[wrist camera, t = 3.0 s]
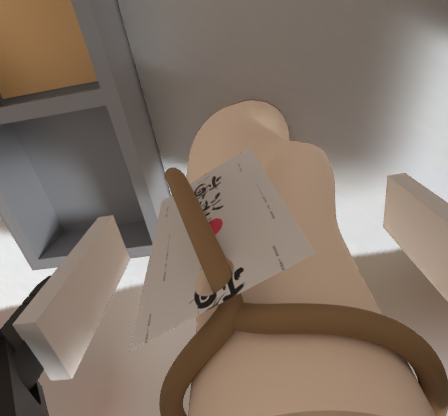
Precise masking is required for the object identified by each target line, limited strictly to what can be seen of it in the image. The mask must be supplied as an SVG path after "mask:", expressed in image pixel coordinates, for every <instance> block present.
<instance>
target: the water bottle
mask: <svg viewBox="0 0 448 416" xmlns="http://www.w3.org/2000/svg"><path fill="white" fill-rule="evenodd" d="M289 140H290V134H289V129H288V125H287V123H286V120H285V118H284V117H283V115H282V114H281V112H280V111H279V110H278V109H276V108H275V107H274V106H272V105H270V104H268V103H265V102H262V101H255V100H249V101H243V102H239V103H237V104H234V105H231V106H227V107H225V108H223V109H221V110H219V111H217V112H216V113H214V114H213V115H212V116H211V117H210V118H208V119H207V121H206V122H205V123H204V124H203V125H202V127H201V128H200V129H199V131H198V132H197V134H196V136H195V138H194V141H193V143H192V146H191V149H190V154H189V159H188V168H187V178H186V177H185V175H184V174H183V173H182V172H181V171H180V170H178V169H176V168H169V169H168V170H167V171H166V172H165V179H166V181H167V182H168V184H169V187H170V190H171V193H172V195H171V196H169V197H167V198H166V199H164V200H163V201H162V203H161V207H160V212H159V216H158V221H157V226H156V230H155V235H154V240H153V244H152V249H151V254H150V258H149V263H148V268H147V272H146V277H145V281H144V286H143V291H142V295H141V301H140V305H139V310H138V314H137V319H136V323H135V329H134V333H133V337H132V342H131V346H130V351H131V350H133V349H135V348H137V347H139V346H141V345H143V344H145V343H147V342H148V341H150V340H152V339H154V338H156V337H158V336H160V335H162V334H164V333H165V332H168V331H169V330H171V329H173V328H175V327H177V326H179V325H181V324H182V323H184V322H186V321H188V320H190V319H192V318H194V317H196V322H197V327H196V335H194V337H193V338H192V339H191V340H190V341H189V343H188V344H187V345H186V346H185V347H184V349H183V350H182V351H181V353H180V354H179V355H178V357H177V358H176V360H175V361H174V363H173V364H172V366H171V368H170V369H169V371H168V373H167V376H166V377H165V380H164V382H163V385H162V389H161V394H160V413H161V416H187V415H186V414H185V411H184V409H183V398H184V394H185V392H186V390H187V388H188V386H189V384H190V383H191V391H190V402H189V413H188V416H446V414H447V410H448V379H447V375H446V372H445V369H444V367H443V364H442V362H441V360H440V359H439V357H438V355H437V354H436V352H435V351H434V350H433V349H432V347H431V346H430V345H429V344H428V343H427V342H426V341H425V340H424V339H423V338H422V337H421V336H419V335H418V334H417V333H416V332H415V331H413V330H412V329H410V328H409V327H407V326H405V325H404V324H402V323H400V322H398V321H396V320H394V319H391V318H389V317H387V316H384V315H382V313H381V311H380V310H379V308H378V306H377V304H376V302H375V300H374V298H373V296H372V294H371V293H370V291H369V289H368V287H367V285H366V283H365V281H364V279H363V277H362V275H361V273H360V271H359V270H358V267H357V265H356V264H355V262H354V260H353V258H352V256H351V254H350V252H349V250H348V248H347V246H346V244H345V242H344V240H343V238H342V235H341V233H340V230H339V228H338V224H337V220H336V209H335V183H334V176H333V171H332V169H331V166H330V162H329V159H328V157H327V155H326V154H325V152H324V151H323V150H322V149H321V148H319V147H318V146H316V145H314V144H310V143H306V142H298V141H289ZM407 361H408V362H409V363H410V365H411V366H412V367H413V369H414V371H415V373H416V375H417V378H418V381H417V379H416V377H415V375H414V374H413V372H412V370H411V368H410V366H409V364H408V362H407Z"/></svg>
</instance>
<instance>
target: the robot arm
mask: <svg viewBox="0 0 448 416" xmlns="http://www.w3.org/2000/svg"><path fill="white" fill-rule="evenodd" d="M383 227H384V229H385V230H386V231H387V232H388V233H389V234H390V236H391V237H392V238H393V239H394V240H395V241H396V243H397V244H398V245H399V246H400V247H401V248H402V250H403V251H404V252H405V253H406V254H407V255H408V256H409V257H410V259H411V260H412V261H413V262H414V263H415V265H416V266H417V267H418V268H419V269H420V270H421V271H422V273H423V274H424V275H425V276H426V277H427V278H428V280H429V281H430V282H431V283H432V284H433V285H434V286H435V288H436V289H437V290H438V291H439V292H440V294H441V295H442V296H443V297H444V298H445V299H446V300H447V302H448V203H447V202H446V201H444V200H443V199H441V198H440V197H439V196H437V195H436V194H434V193H433V192H431V191H430V190H429V189H427V188H426V187H424V186H423V185H421V184H420V183H419V182H417V181H416V180H414V179H413V178H411V177H410V176H409V175H407V174H406V173H402V174H395V175H388V176H387V188H386V199H385V211H384V222H383ZM129 261H130V257H129V255H128V252H127V250H126V247H125V245H124V242H123V239H122V237H121V234H120V232H119V229H118V227H117V224H116V221H115V219H114V216H113V215H110V216H103V217H98V218H97V220H96V221H95V222H94V223H93V225H92V226H91V227H90V228H89V230H88V231H87V232H86V233H85V235H84V236H83V237H82V238H81V240H80V241H79V242H78V243H77V245H76V246H75V247H74V248H73V250H72V251H71V252H70V253H69V255H68V256H67V257H66V258H65V260H64V261H63V262H62V263H61V265H60V266H59V267H58V268H57V270H56V271H55V272H54V273H53V274H52V276H48V277H47V278H46V279H44V280H43V281H42V282H41V283H39V284H38V285H37V286H36V287H35V288H34V290H33V291H32V292H31V293H30V294H29V297H27V298H26V299H25V300H24V302H23V303H22V305H20V306H19V308H18V309H17V310H16V311H15V312H14V314H13V315H12V316H11V317H10V318H9V320H8V321H7V322H6V323H5V324H4V326H3V327H2V328H1V329H0V416H49V414H48V410H47V406H46V401H45V398H44V393H43V389H42V386H41V385H40V383H39V382H38V378H39V377H40V375H41V373H42V372H43V370H44V371H45V372H46V374H47V375H48V377H49V378H50V379H51V381H53V380H64V379H72V378H73V376H74V374H75V372H76V370H77V367H78V366H79V364H80V362H81V359H82V357H83V355H84V353H85V351H86V349H87V347H88V345H89V343H90V341H91V339H92V337H93V335H94V333H95V331H96V329H97V327H98V324H99V322H100V320H101V318H102V316H103V314H104V312H105V310H106V308H107V306H108V304H109V302H110V300H111V298H112V296H113V294H114V292H115V290H116V288H117V286H118V284H119V281H120V279H121V277H122V275H123V273H124V271H125V269H126V267H127V265H128V263H129Z"/></svg>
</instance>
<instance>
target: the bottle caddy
mask: <svg viewBox="0 0 448 416" xmlns="http://www.w3.org/2000/svg"><path fill="white" fill-rule="evenodd" d="M169 196H171V194H170V190H169V186H168V183H167V181H166V179H165V172H164V168H163V165H162V161H161V158H160V154H159V150H158V147H157V143H156V140H155V136H154V132H153V129H152V125H151V121H150V118H149V114H148V111H147V107H146V103H145V100H144V96H143V93H142V89H141V85H140V82H139V78H138V75H137V71H136V67H135V64H134V60H133V57H132V53H131V49H130V46H129V42H128V39H127V35H126V31H125V28H124V24H123V21H122V17H121V13H120V10H119V6H118V3H117V0H0V215H1V217H2V219H3V221H4V222H5V224H6V226H7V227H8V229H9V231H10V233H11V234H12V236H13V238H14V239H15V241H16V243H17V244H18V246H19V248H20V250H21V251H22V253H23V255H24V256H25V258H26V260H27V262H28V263H29V265H30V267H31V268H32V270H39V269H47V268H55V267H59V266H60V265H61V263H62V262H63V261H64V260H65V258H66V257H67V256H68V255H69V253H70V252H71V251H72V250H73V248H74V247H75V246H76V245H77V243H78V242H79V241H80V240H81V238H82V237H83V236H84V235H85V233H86V232H87V231H88V230H89V228H90V227H91V226H92V225H93V223H94V222H95V221H96V220H97V218H98V217H103V216H110V215H113V216H114V219H115V221H116V224H117V227H118V229H119V232H120V234H121V237H122V239H123V242H124V245H125V247H126V250H127V252H128V255H129V257H130V258H137V257H145V256H150V254H151V249H152V244H153V240H154V235H155V230H156V226H157V221H158V216H159V212H160V207H161V203H162V201H163V200H164V199H166V198H167V197H169Z"/></svg>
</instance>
